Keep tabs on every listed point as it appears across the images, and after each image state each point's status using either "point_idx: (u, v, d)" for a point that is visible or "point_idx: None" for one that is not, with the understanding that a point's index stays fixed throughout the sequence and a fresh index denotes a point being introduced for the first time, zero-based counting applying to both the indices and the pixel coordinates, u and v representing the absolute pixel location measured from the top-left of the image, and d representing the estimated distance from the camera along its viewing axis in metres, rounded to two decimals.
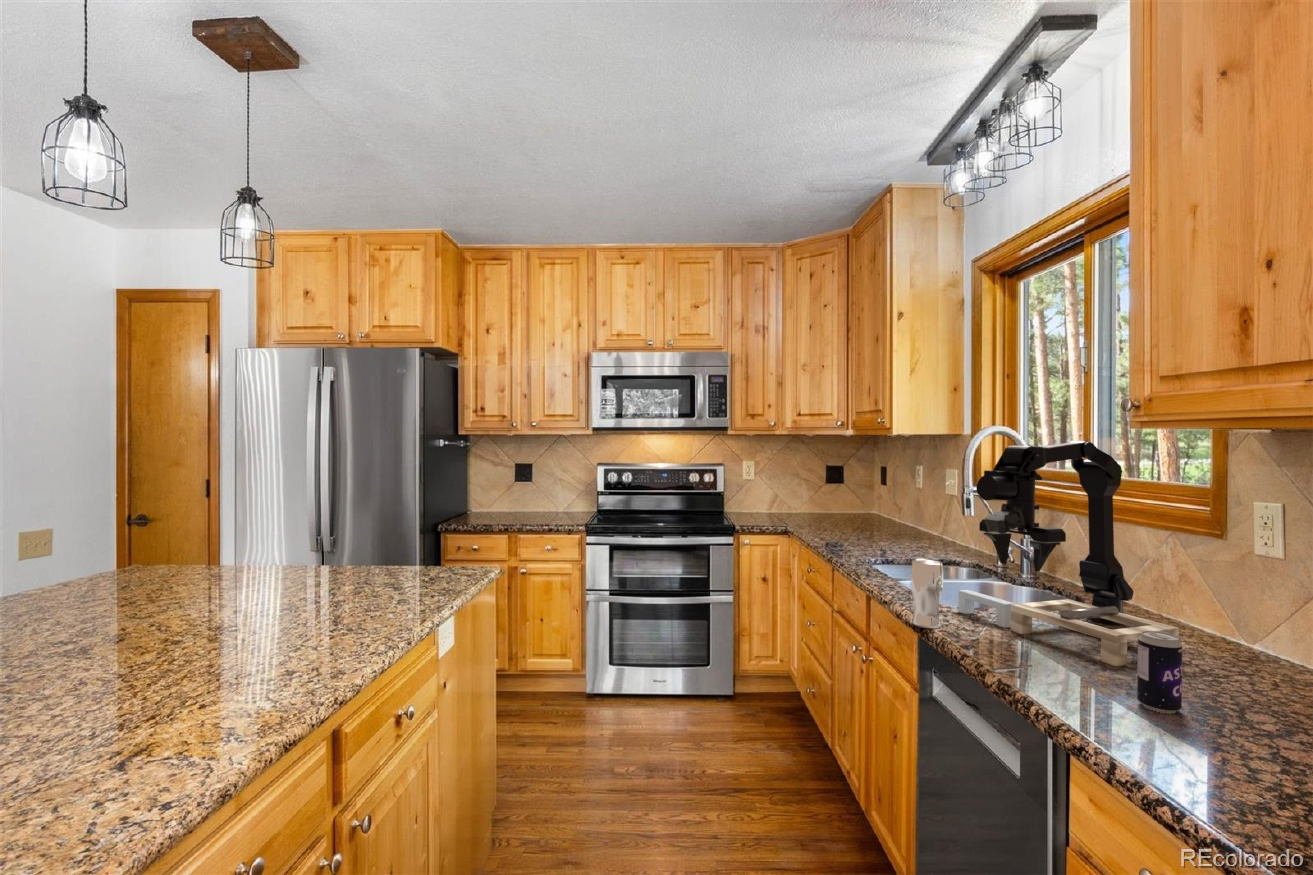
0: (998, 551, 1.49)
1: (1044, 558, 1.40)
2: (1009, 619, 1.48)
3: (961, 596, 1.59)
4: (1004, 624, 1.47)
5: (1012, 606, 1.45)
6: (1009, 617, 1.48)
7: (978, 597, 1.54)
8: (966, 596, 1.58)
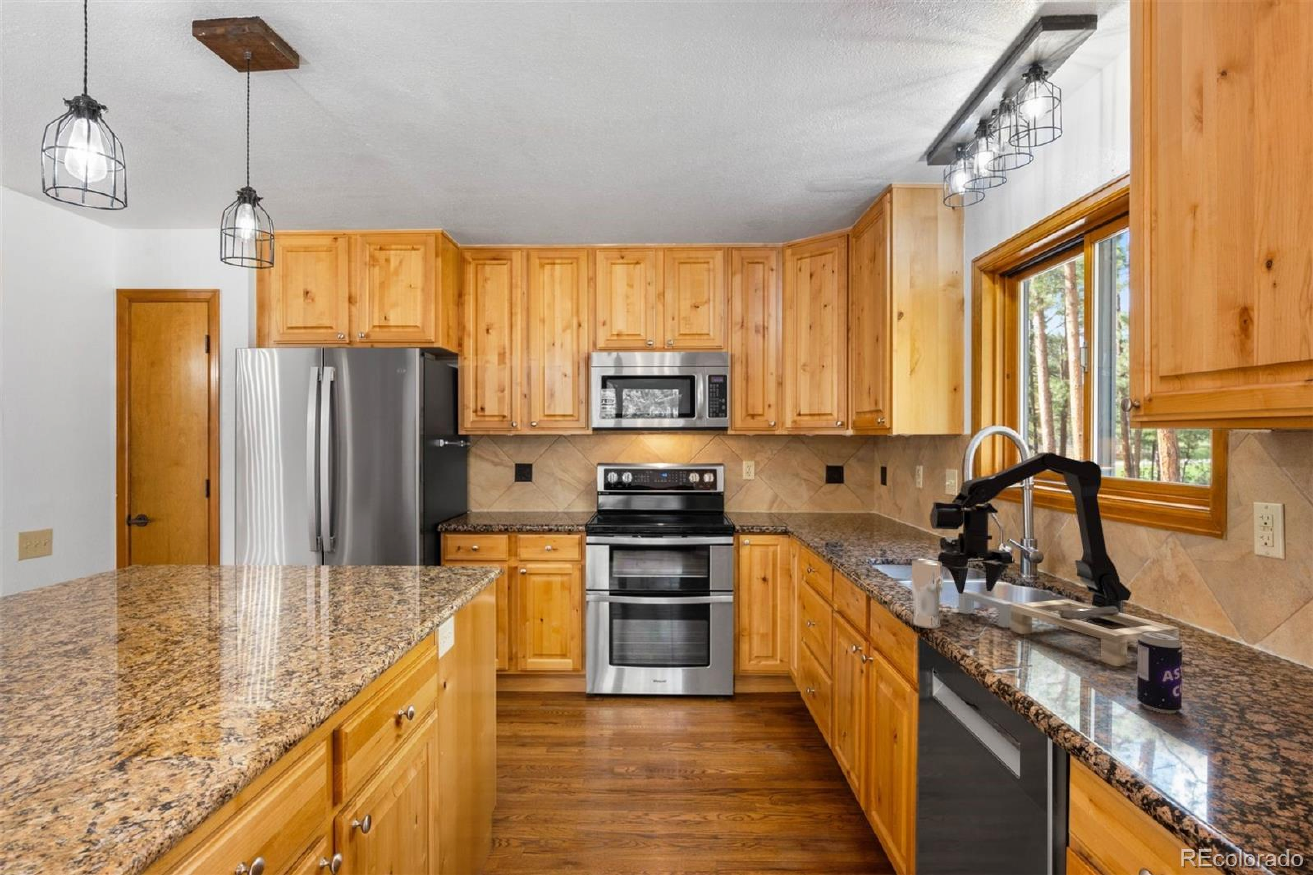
0: None
1: (960, 582, 1.55)
2: (1009, 619, 1.48)
3: (961, 596, 1.59)
4: (1004, 624, 1.47)
5: (1012, 606, 1.45)
6: (1009, 617, 1.48)
7: (978, 597, 1.54)
8: (966, 596, 1.58)
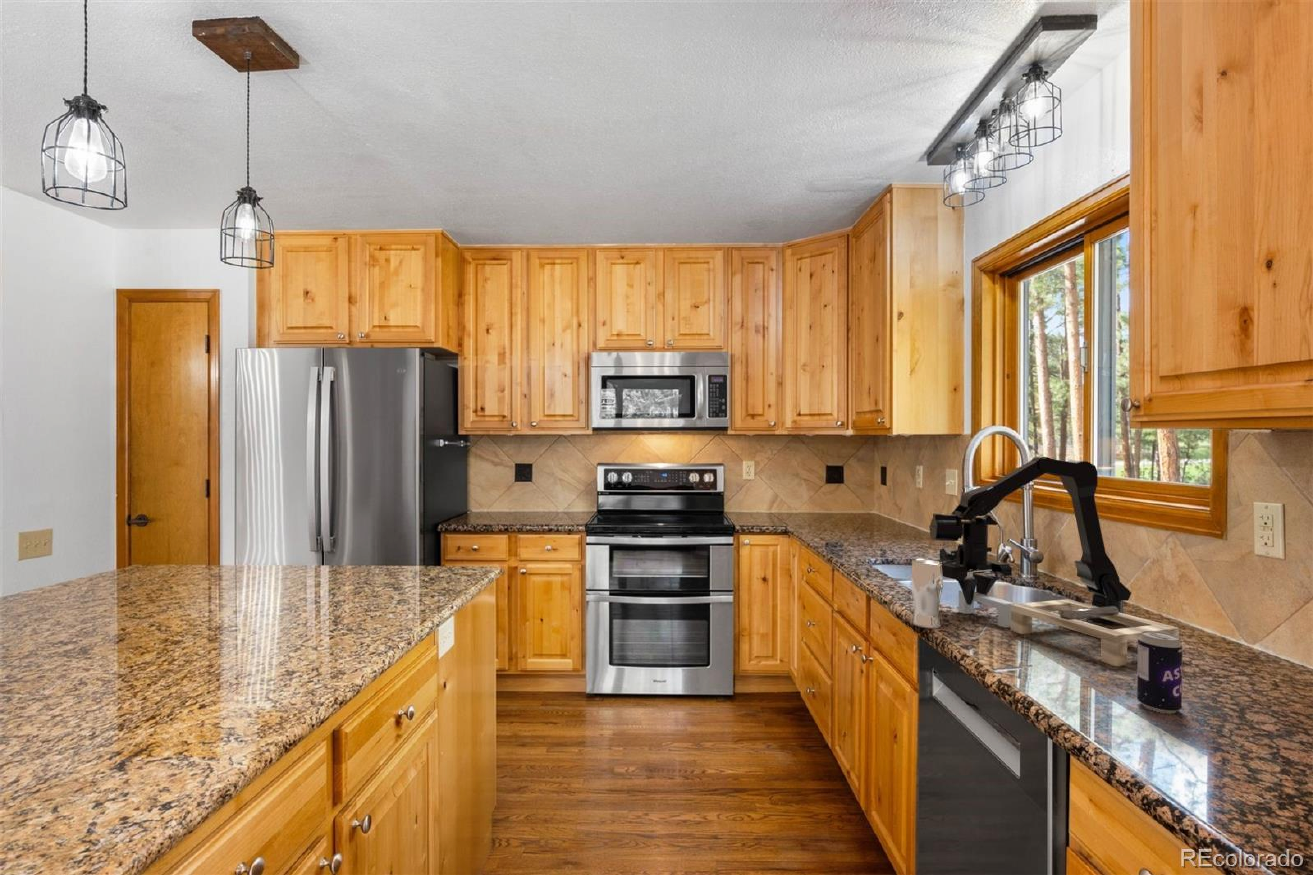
0: None
1: (969, 593, 1.56)
2: (1009, 619, 1.48)
3: (961, 596, 1.59)
4: (1004, 624, 1.47)
5: (1012, 606, 1.45)
6: (1009, 617, 1.48)
7: (978, 597, 1.54)
8: None
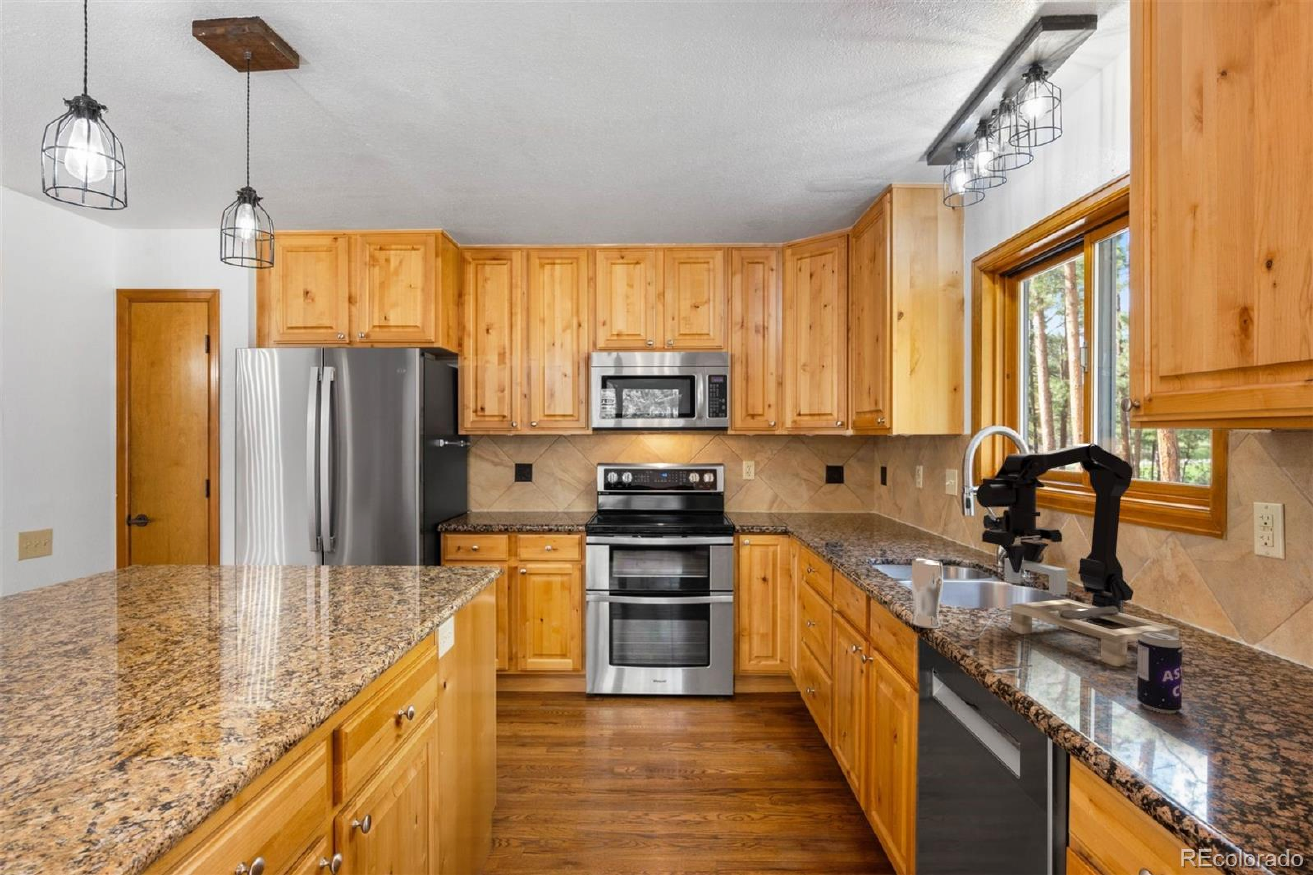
0: None
1: (1016, 560, 1.47)
2: (1061, 586, 1.39)
3: (1007, 564, 1.51)
4: (1056, 591, 1.39)
5: (1012, 606, 1.45)
6: (1061, 584, 1.39)
7: (1026, 564, 1.46)
8: None
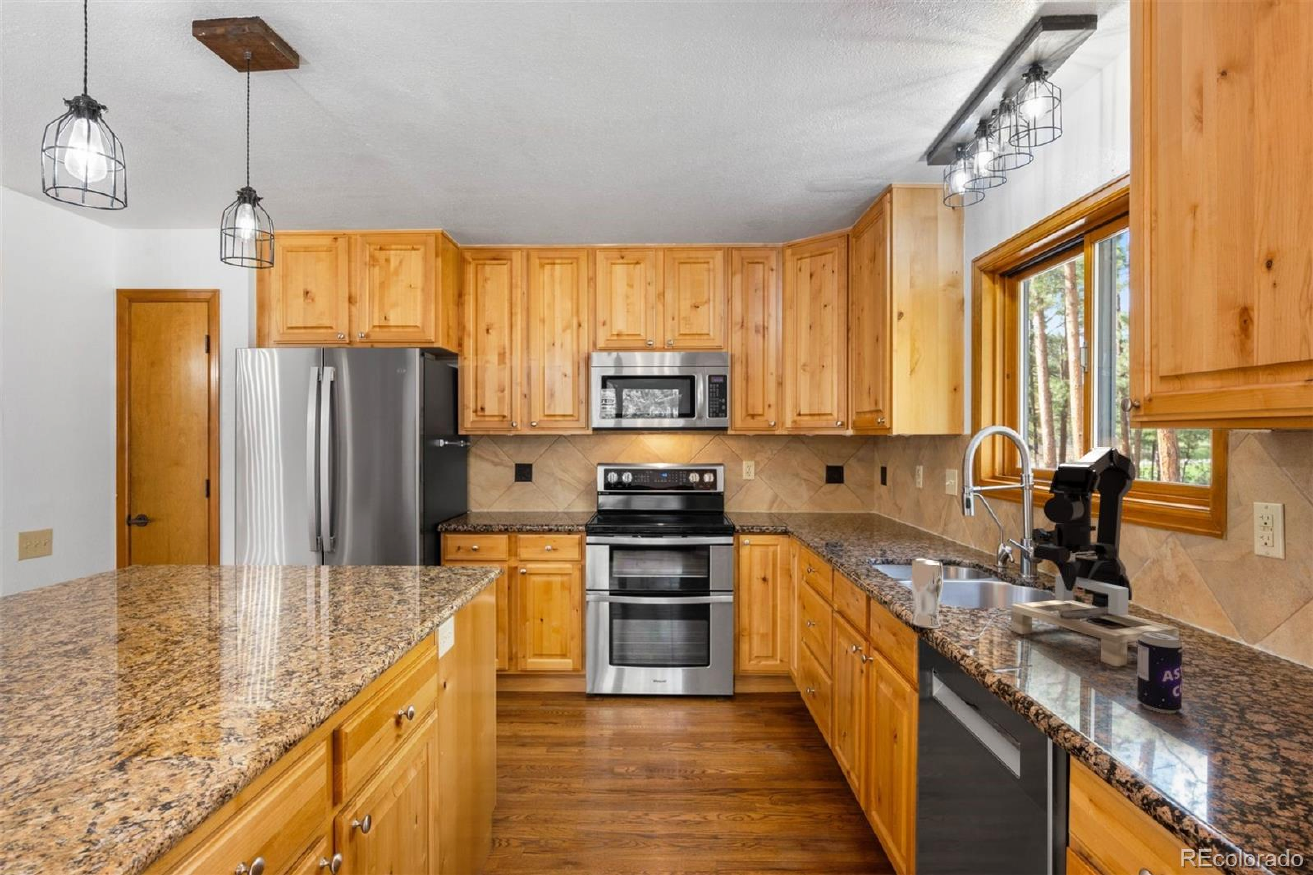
0: None
1: (1070, 577, 1.38)
2: (1122, 606, 1.30)
3: (1059, 581, 1.42)
4: (1117, 612, 1.30)
5: (1012, 606, 1.45)
6: (1122, 604, 1.30)
7: (1081, 582, 1.37)
8: None
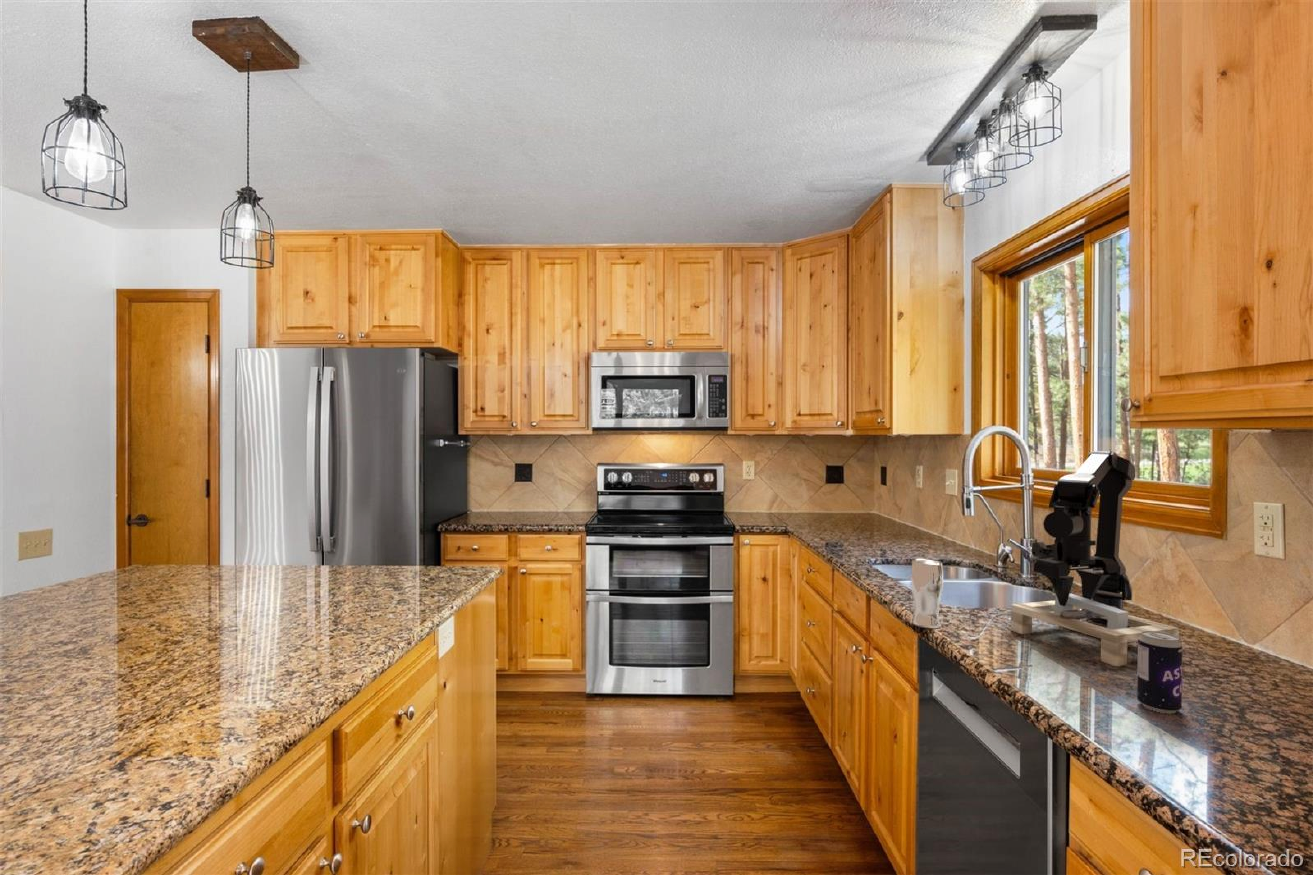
0: None
1: (1063, 593, 1.38)
2: None
3: None
4: None
5: (1012, 606, 1.45)
6: (1121, 627, 1.30)
7: (1082, 602, 1.37)
8: None
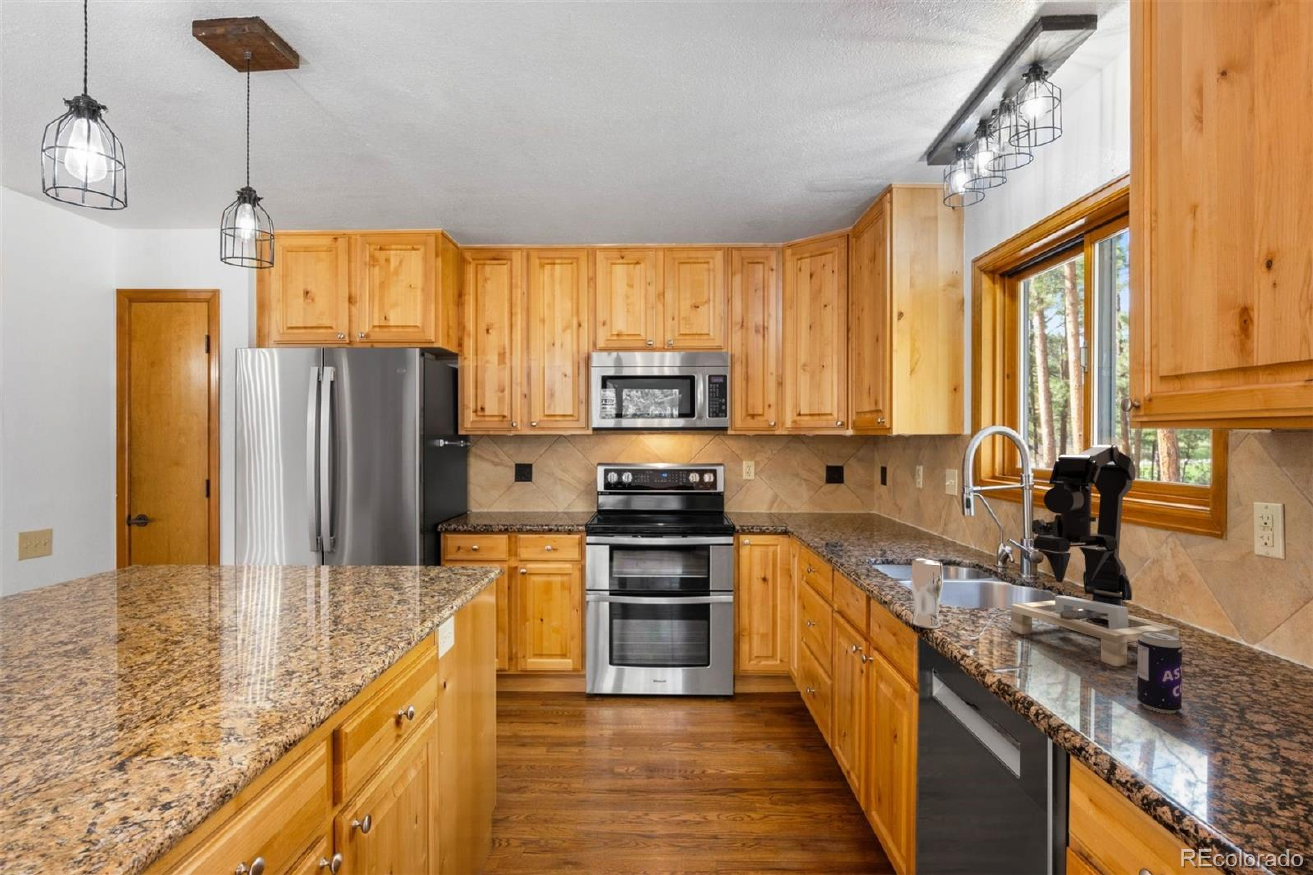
0: None
1: (1060, 569, 1.37)
2: (1122, 625, 1.30)
3: (1058, 603, 1.42)
4: None
5: (1012, 606, 1.45)
6: (1122, 623, 1.30)
7: (1081, 602, 1.37)
8: (1065, 602, 1.40)
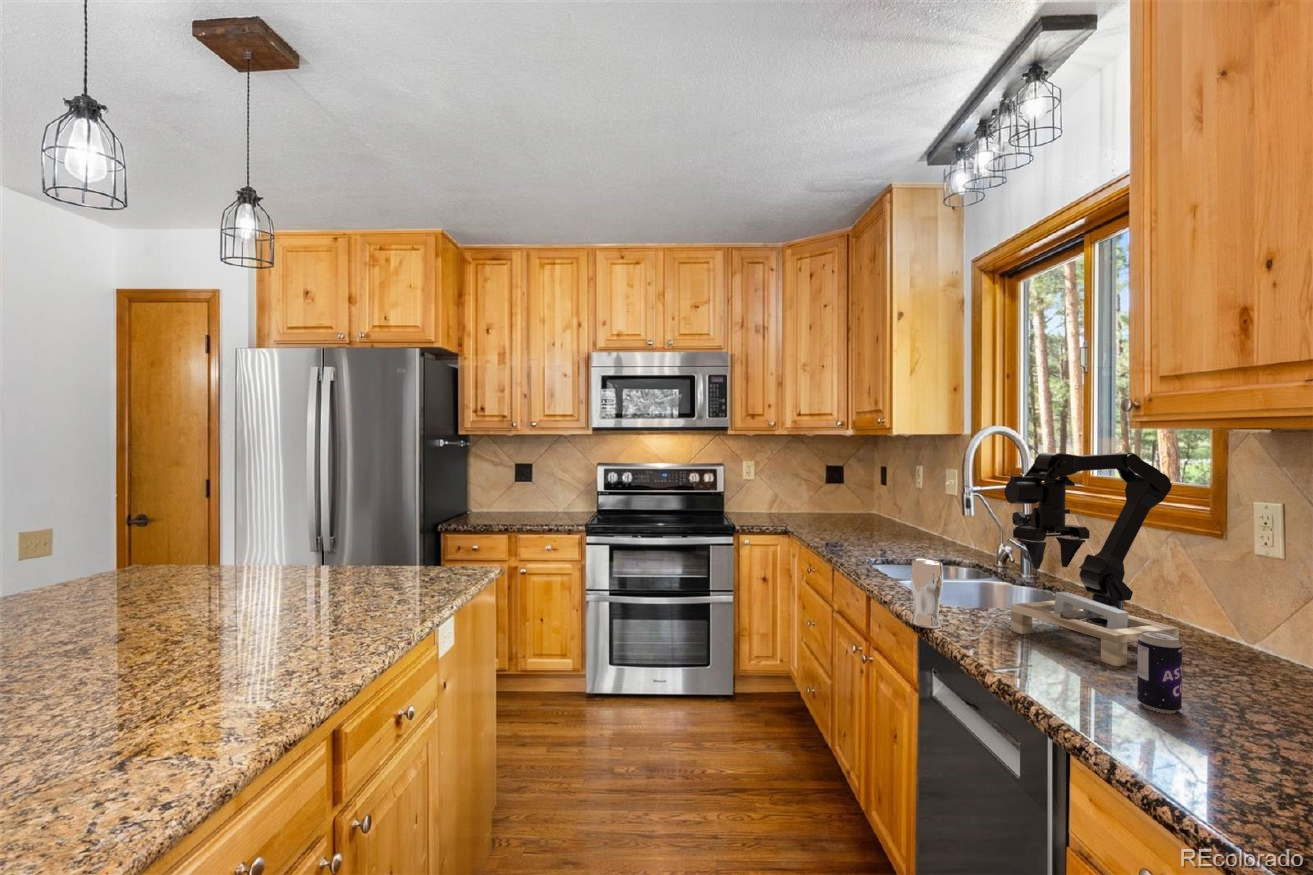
0: None
1: (1037, 557, 1.50)
2: None
3: (1059, 599, 1.42)
4: None
5: (1012, 606, 1.45)
6: (1121, 628, 1.30)
7: (1082, 602, 1.37)
8: (1065, 599, 1.40)
